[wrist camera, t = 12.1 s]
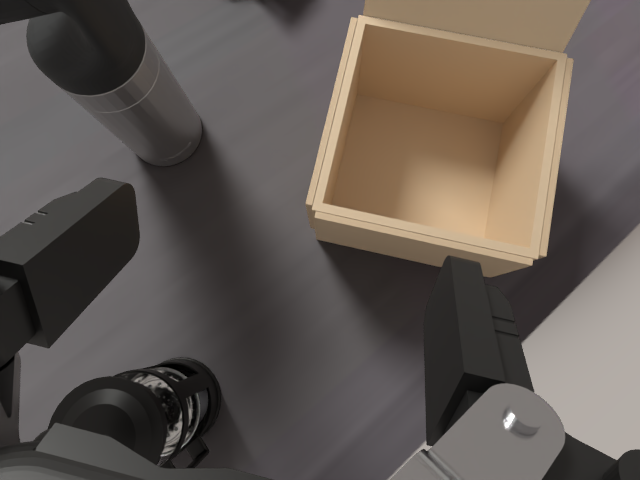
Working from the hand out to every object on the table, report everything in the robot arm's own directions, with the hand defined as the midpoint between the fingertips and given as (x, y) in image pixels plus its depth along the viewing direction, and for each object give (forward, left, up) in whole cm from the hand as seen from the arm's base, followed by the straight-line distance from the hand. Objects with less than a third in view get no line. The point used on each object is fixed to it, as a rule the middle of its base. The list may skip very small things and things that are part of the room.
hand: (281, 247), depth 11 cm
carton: (-7, +18, -41) cm, 45 cm away
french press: (+1, -19, -41) cm, 45 cm away
